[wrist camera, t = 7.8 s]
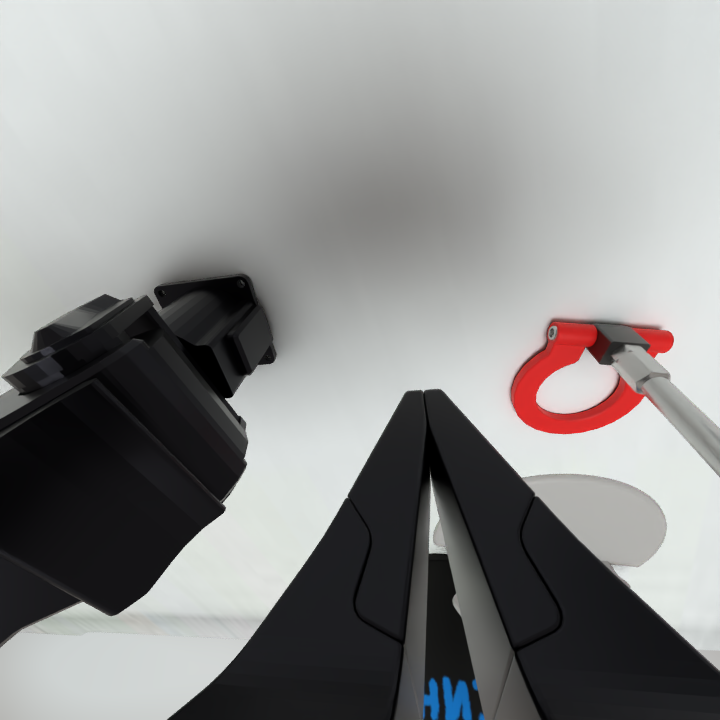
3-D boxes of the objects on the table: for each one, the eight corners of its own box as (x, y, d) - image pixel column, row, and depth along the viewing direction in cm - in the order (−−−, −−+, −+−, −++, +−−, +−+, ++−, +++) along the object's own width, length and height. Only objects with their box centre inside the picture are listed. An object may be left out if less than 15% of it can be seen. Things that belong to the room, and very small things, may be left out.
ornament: (431, 540, 36) (454, 792, 22) (453, 461, 28) (510, 766, 14) (638, 562, 34) (804, 844, 20) (719, 486, 27) (1062, 845, 13)
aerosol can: (465, 589, 41) (514, 891, 24) (400, 582, 41) (404, 873, 25) (480, 557, 36) (553, 902, 20) (407, 549, 37) (418, 880, 20)
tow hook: (604, 428, 25) (678, 325, 20) (749, 641, 15) (991, 549, 9) (495, 417, 26) (537, 314, 20) (560, 617, 15) (685, 516, 10)
